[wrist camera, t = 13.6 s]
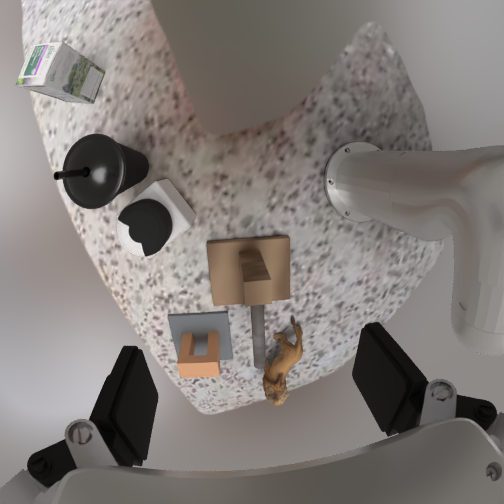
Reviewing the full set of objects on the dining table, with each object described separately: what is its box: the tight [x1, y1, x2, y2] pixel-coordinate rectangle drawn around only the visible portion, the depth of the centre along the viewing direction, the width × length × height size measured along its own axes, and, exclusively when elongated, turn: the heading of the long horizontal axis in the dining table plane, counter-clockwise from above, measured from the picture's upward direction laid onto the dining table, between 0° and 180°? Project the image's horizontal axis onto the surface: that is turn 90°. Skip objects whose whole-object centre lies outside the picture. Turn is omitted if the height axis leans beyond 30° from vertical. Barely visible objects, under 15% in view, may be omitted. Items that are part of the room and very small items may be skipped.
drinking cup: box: [54, 134, 149, 209], centre depth 26 cm, size 8×8×20 cm
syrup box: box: [16, 42, 105, 104], centre depth 23 cm, size 6×6×14 cm
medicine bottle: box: [116, 178, 196, 259], centre depth 32 cm, size 7×7×12 cm
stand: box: [207, 235, 290, 369], centre depth 37 cm, size 12×16×12 cm
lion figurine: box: [262, 317, 303, 406], centre depth 43 cm, size 15×5×9 cm, turn 166°
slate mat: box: [168, 311, 233, 360], centre depth 45 cm, size 10×10×1 cm
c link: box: [177, 331, 220, 378], centre depth 40 cm, size 6×3×8 cm, turn 93°
